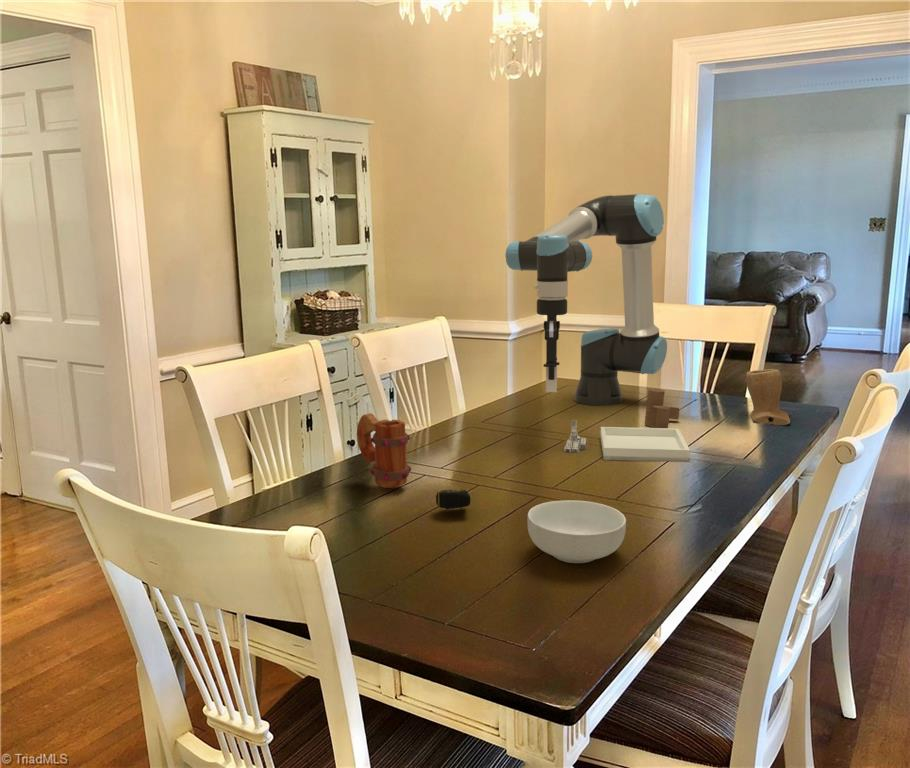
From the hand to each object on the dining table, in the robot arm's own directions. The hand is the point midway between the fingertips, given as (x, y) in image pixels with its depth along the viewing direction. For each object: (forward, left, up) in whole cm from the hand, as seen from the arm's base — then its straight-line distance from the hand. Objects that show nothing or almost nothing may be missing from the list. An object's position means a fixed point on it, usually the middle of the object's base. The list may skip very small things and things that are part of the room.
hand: (551, 391), depth 198 cm
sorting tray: (+1, +23, -14) cm, 27 cm away
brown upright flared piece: (-31, +60, -15) cm, 69 cm away
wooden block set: (-20, +29, -14) cm, 38 cm away
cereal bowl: (+67, +6, -15) cm, 69 cm away
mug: (+33, -36, -14) cm, 51 cm away
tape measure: (+50, -15, -14) cm, 54 cm away
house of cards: (+3, +8, -15) cm, 17 cm away
